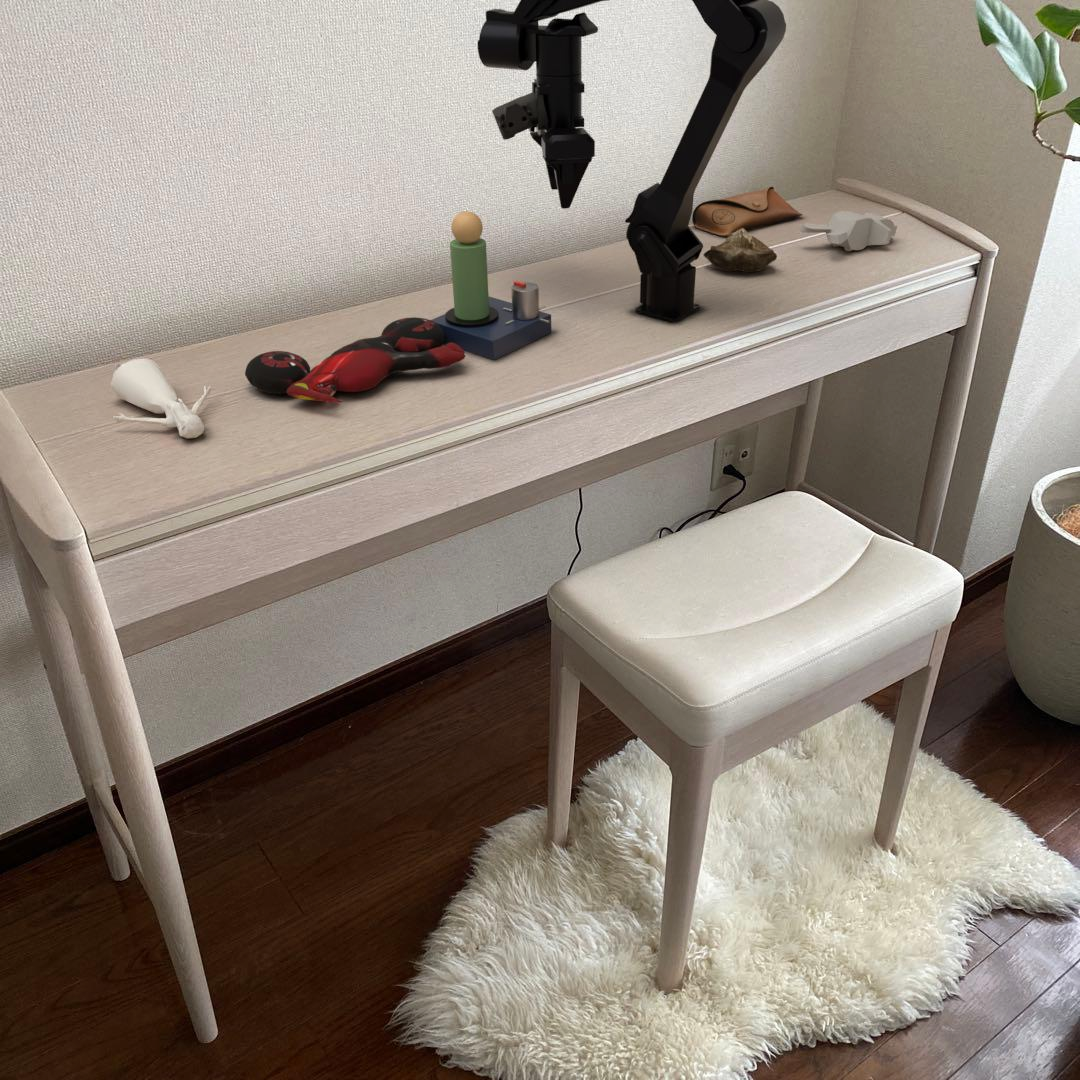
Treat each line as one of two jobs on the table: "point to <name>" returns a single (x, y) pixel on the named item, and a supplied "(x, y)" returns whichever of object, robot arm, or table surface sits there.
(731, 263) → the fossilized seashell
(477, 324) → the burner plate
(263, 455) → the table surface
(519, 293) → the stove knob
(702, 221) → the sunglasses case
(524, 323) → the hot plate
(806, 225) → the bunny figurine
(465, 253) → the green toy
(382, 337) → the toy motorcycle
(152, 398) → the woman figurine
